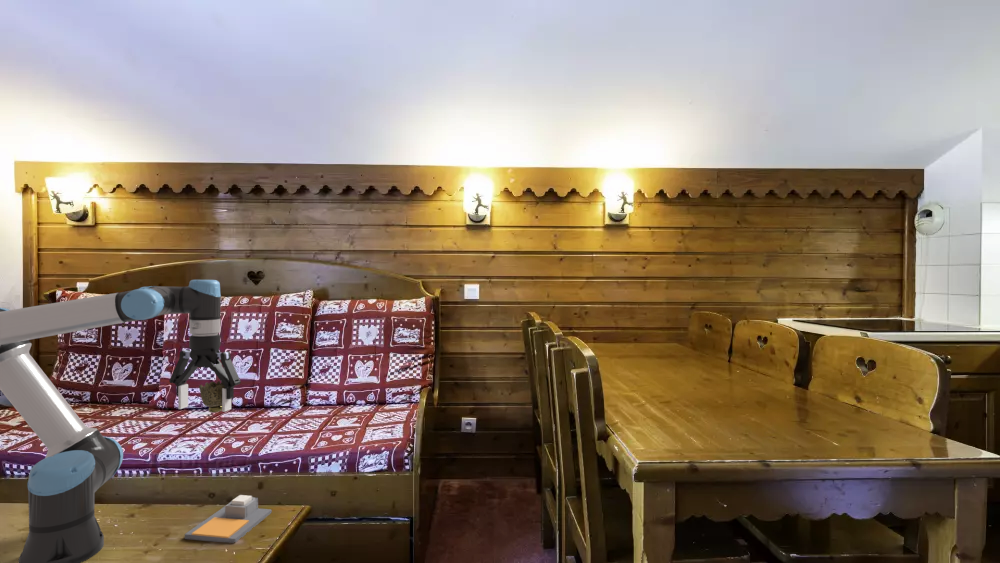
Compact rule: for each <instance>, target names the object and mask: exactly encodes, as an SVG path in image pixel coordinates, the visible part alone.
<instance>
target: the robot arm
mask: <svg viewBox="0 0 1000 563" xmlns="http://www.w3.org/2000/svg"><path fill="white" fill-rule="evenodd" d="M188 283H189V284H188V286H157V285H153V286H152V285H151V286H141V287H139V288H136V289H133V290H127V291H122V292H115V293H109V294H108V293H107V294H102V295H97V296H90V297H84V298H78V299H71V300H64V301H59V302H53V303H46V304H40V305H34V306H29V307H27V306H26V307H22V308H16V309H15V308H14V309H10V308H6V307H0V391H1V392H2V394H3V395H4V397H5V398H6V399H7V400H8V401H9V402H10V403H11V405H12V406H13V407H14V409H15V410H16V411H17V413H18V414H19V415H20V416H21V417H22V419H23V420H24V421H25V423H27V425H28V426H29V428H30V429H32V431H33V432H34V433H35V435H36V436H37V437H38V438H39V440H40V441H41V442H42V443H43V445H45V447H46V448H47V452H46V456H45V458H43V459H41V460H39V461H38V462H36V463H35V464H34V465H33V466H32V467H31V469H30V471H29V473H28V474H29V475H28V480H27V490H28V494H27V496H28V535H27V537H26V540H25V543H24V546H23V549H22V552H21V553H20V555H19V557H18V563H81V562H82V563H84V562H86V561H88V560H90V559H91V558H92V557H94V556H95V555H97V554H98V553H99V552H100V551H101V550H102V549H104V546H105V537H104V533H103V532H102V530H101V527H100V523H99V522H98V520H97V518H96V517H95V493H96V492H97V491H98V490H99V489H100V488H101V487H102V486H103V485H104V484H105V483H107V482H108V481H110V480H111V478H113V476H115V475H116V473H117V471H118V470H119V469H120V467H121V466H122V463H123V460H124V451H123V448H122V446H121V444H120V443H119V442H118V441H117V440H116V439H114V438H112V437H109V436H108V437H107V436H104V435H103V434H102V433H101V432H100V430H99V429H98V428H96V427H88V426H87V425H86V424H85V423H84V422H83V420H82V419H81V417H79V416H78V414H77V413H76V411H75V410H74V409H73V408H72V406H71V405H70V403H68V401H67V400H66V399H65V398H64V395H62V394H61V392H60V391H59V390H58V388H57V387H56V386H55V385H54V383H53V382H52V381H51V379H50V378H49V377H48V376H47V374H46V373H45V372H44V371H43V369H42V368H41V367H40V365H39V364H38V362H36V360H35V359H34V358H33V356H32V354H31V353H30V350H31V347H32V345H33V344H32V342H31V341H30V340H35V339H36V340H37V339H40V338H46V337H52V336H56V335H57V336H58V335H62V334H68V333H69V334H70V333H74V332H79V331H85V330H90V329H96V328H101V327H106V326H107V327H108V326H112V325H117V324H123V323H128V322H129V323H130V322H135V321H146V320H149V319H153V318H155V317H159V316H162V315H163V316H164V315H169V314H170V315H171V314H172V315H173V314H175V315H176V314H188V315H189V329H188V330H189V334H191V335H190V336H189V340H188V346H189V347H188V348H189V349H186V350H181V351H180V352H179V358H178V360H177V362H176V365H175V367H174V368H173V369H174V370H173V371H172V374H171V376H170V378H169V383H170V384H175V388H176V389H175V390H176V392H175V394H176V397H178V399H177V400H178V401H177V402H178V405H177V406H178V407H177V409H178V410H182V409H185V408H188V407H189V384H188V381H189V379H190V377H192V376H193V374H194V373H195V371H196V370H197V369H198V368H199V369H200V368H204V369H206V368H207V369H210V370H211V371H213V373H214V374H215V375H216V376H217V378H218V380H219V381H220V383H221V382H222V383H223V385H224V386H225V387H224V388H222V411H221V412H224V413H225V412H228V411H230V410H232V399H233V398H234V395H235V393H234V390H235V389H234V388H235V386H238V385H240V384H241V383H242V382H241V379H240V377H239V374H238V372H237V370H236V368H235V365H234V363H233V361H232V358H231V352H230V351H229V350H228V351H224V352H221V351H220V347H221V335H220V334H219V333H221V330H222V329H221V323H222V322H221V319H222V318H221V305H222V304H221V300H222V299H221V298H222V295H221V284H220V283H221V282H220V281H219V280H216V279H191V280H190V281H189V282H188ZM190 359H191V361H190ZM189 361H190V362H189Z"/></svg>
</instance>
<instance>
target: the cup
mask: <svg viewBox="0 0 1000 563" xmlns="http://www.w3.org/2000/svg"><path fill="white" fill-rule="evenodd" d="M224 387H225V386H224V385H223V383H222V382H221V381H220V380H219V381H217V382H215V381H210V382H209V383H208V382H205V384H204V385H202V384H199V385H198V388H199V391H200V392H199V394H200V398H201V402H202V404H203V406H206V407H207V408H208V407H209V408H208V412H209V413H214V414H215V413H219V412H222V388H224Z"/></svg>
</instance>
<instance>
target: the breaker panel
mask: <svg viewBox="0 0 1000 563" xmlns="http://www.w3.org/2000/svg"><path fill="white" fill-rule="evenodd" d="M271 513H272V509H270V508H269V509H268V508H259V497H254V496H252V500H251V501H250V502H249V503H247V504H246V505H245V506H241V505H232V501H230V502H229V503H228V504H225V505H224V506H222V508H221V509H218V511H215V513H213V514H211V515H210V516H209V517H207V518H206V519H204V520H203V521H201V522H200V523H198V524H197V525H196V526H194V527H193V528H191V529H190V530H189V531H187V532H186V533H185V534H184V539H185V540H193V541H203V542H218V543H231V544H232V543H234V542H236V543H237V542H238V541H239V539H240V538H241V537H242V538H244V536H245V535H247V534H248V533H249V532H251V531H252V530H253V529H254V528H255V527H256V526H257V525H259V524H260V523H261V522H262V521H264V520H265V519H266V518H267V517H268V516H270V515H271ZM253 527H254V528H253ZM252 528H253V529H252ZM247 532H248V533H247ZM246 533H247V534H246ZM242 538H241V539H242ZM241 539H240V540H241ZM234 544H235V543H234Z"/></svg>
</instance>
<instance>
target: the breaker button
mask: <svg viewBox="0 0 1000 563" xmlns="http://www.w3.org/2000/svg"><path fill="white" fill-rule="evenodd" d="M252 497H253V495H245V494H239V495H238V496H236V497H235V498H234V499H232V500H231V502H232V505H241V506H245V505H246V504H247V503H249V502H250V501H251V500H252Z"/></svg>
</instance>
